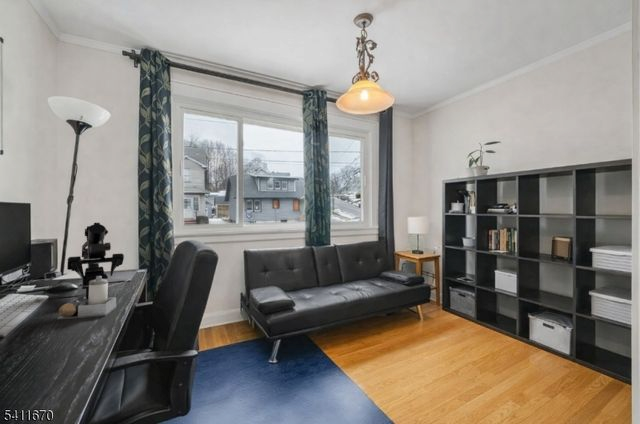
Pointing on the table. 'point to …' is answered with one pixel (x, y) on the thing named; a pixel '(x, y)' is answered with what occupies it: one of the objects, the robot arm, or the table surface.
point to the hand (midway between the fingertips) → (97, 277)
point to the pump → (98, 291)
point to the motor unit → (86, 308)
